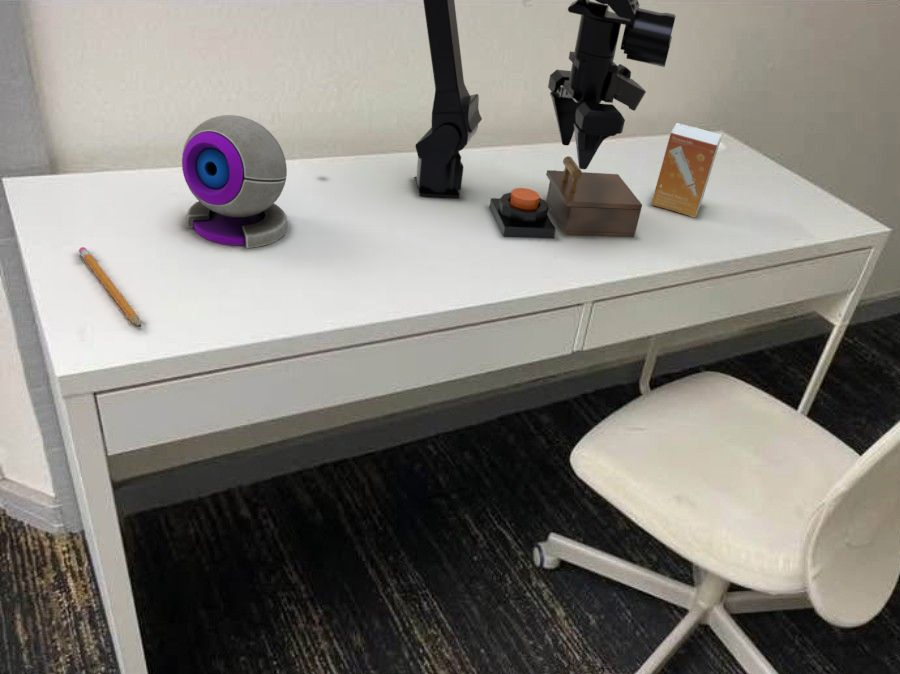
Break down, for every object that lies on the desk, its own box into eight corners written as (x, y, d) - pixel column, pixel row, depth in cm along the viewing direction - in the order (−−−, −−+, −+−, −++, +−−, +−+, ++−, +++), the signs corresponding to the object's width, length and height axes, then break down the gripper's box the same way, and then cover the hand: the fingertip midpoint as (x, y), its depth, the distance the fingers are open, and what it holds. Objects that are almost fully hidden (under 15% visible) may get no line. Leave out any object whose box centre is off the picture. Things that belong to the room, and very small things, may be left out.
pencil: (76, 252, 104) (134, 329, 94) (80, 245, 104) (138, 321, 93) (84, 254, 105) (142, 331, 94) (88, 247, 105) (146, 323, 94)
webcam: (167, 228, 113) (155, 117, 104) (227, 196, 123) (221, 92, 114) (251, 257, 111) (246, 146, 102) (305, 222, 121) (305, 118, 112)
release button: (541, 211, 130) (543, 200, 129) (513, 210, 128) (515, 199, 127) (534, 198, 133) (535, 188, 132) (506, 197, 132) (508, 187, 131)
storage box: (565, 235, 132) (571, 206, 129) (545, 202, 140) (550, 175, 137) (634, 237, 135) (641, 210, 132) (610, 205, 144) (617, 179, 141)
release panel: (553, 238, 130) (557, 217, 128) (503, 237, 128) (506, 215, 126) (537, 209, 138) (540, 189, 135) (489, 207, 135) (492, 187, 133)
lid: (566, 206, 128) (571, 177, 126) (546, 174, 137) (550, 147, 134) (641, 209, 132) (648, 181, 130) (617, 178, 141) (623, 151, 138)
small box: (650, 205, 147) (669, 131, 139) (657, 193, 152) (676, 121, 144) (696, 218, 145) (717, 144, 138) (701, 205, 150) (722, 133, 143)
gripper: (670, 77, 116) (643, 185, 126) (625, 37, 130) (603, 137, 140) (594, 70, 113) (572, 181, 122) (556, 30, 127) (539, 132, 136)
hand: (573, 156), depth 130 cm, fingers open, 9 cm apart
